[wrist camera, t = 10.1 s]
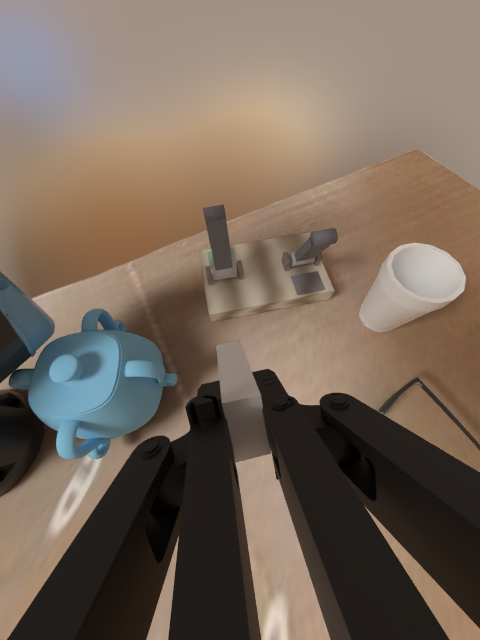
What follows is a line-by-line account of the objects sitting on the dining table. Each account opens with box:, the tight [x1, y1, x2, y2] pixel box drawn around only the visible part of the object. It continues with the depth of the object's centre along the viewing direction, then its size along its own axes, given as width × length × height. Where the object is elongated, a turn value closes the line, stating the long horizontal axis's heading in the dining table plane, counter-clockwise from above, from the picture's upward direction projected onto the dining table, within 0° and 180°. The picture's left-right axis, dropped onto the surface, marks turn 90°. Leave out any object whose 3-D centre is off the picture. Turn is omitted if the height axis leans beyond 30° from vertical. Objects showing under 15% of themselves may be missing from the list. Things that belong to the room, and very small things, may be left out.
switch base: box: [199, 232, 334, 322], centre depth 45 cm, size 22×14×5 cm, turn 101°
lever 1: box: [203, 205, 237, 281], centre depth 39 cm, size 4×2×12 cm, turn 101°
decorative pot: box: [9, 309, 178, 459], centre depth 33 cm, size 16×16×14 cm
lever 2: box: [289, 228, 337, 267], centre depth 39 cm, size 4×2×12 cm, turn 101°
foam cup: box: [359, 243, 466, 333], centre depth 37 cm, size 10×9×13 cm
